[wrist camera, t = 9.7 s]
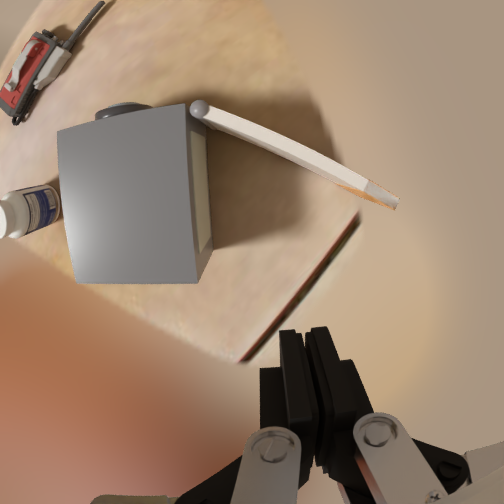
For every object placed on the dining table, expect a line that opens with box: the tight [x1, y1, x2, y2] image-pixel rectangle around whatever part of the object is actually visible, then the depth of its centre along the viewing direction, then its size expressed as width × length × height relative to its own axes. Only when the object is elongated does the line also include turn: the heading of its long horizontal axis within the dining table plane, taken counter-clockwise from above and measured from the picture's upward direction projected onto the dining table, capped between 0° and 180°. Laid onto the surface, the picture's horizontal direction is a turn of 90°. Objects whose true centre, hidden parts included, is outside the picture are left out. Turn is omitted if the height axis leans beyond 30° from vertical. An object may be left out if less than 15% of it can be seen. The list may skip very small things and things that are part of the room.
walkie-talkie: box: [0, 1, 105, 126], centre depth 22 cm, size 9×4×20 cm
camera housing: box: [57, 102, 213, 284], centre depth 25 cm, size 16×12×9 cm
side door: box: [190, 100, 400, 210], centre depth 24 cm, size 18×1×9 cm, turn 66°
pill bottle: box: [0, 185, 60, 239], centre depth 25 cm, size 5×5×10 cm
